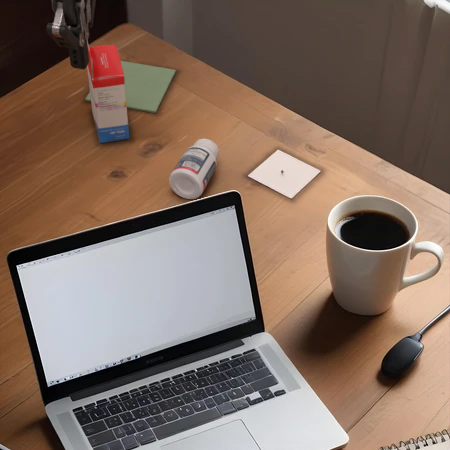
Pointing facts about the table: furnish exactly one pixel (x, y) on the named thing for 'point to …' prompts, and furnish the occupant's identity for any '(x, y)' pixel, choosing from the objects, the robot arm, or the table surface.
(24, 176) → the table surface
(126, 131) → the ink box
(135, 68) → the felt mat
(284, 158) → the coaster
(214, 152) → the pill bottle
